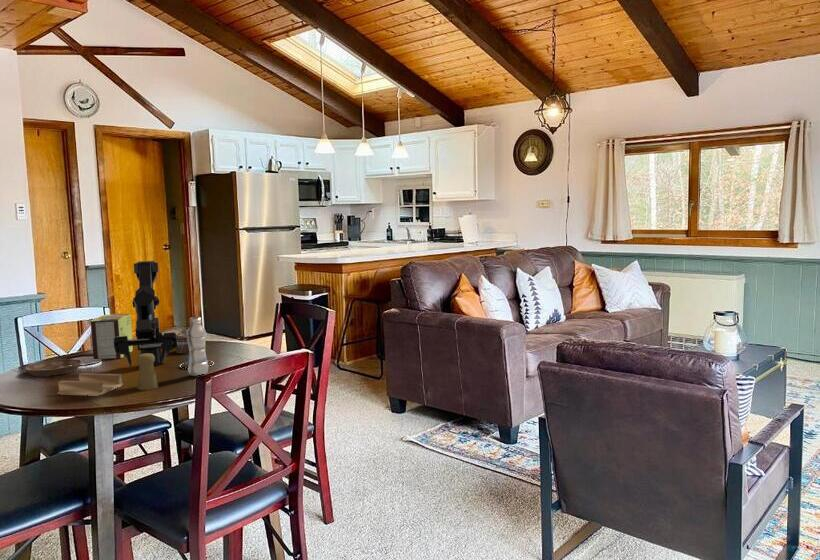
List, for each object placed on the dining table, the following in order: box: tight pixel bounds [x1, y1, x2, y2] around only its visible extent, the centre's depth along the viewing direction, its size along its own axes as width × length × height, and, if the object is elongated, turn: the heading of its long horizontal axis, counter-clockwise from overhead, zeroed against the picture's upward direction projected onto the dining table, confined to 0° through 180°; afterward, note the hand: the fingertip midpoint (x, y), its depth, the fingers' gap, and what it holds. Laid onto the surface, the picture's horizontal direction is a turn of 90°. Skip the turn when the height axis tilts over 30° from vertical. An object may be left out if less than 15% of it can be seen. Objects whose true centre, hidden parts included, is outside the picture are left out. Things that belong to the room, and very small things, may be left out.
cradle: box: [57, 372, 124, 397], centre depth 194 cm, size 12×14×4 cm
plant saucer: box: [24, 358, 83, 377], centre depth 219 cm, size 18×18×3 cm
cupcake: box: [175, 326, 190, 354], centre depth 248 cm, size 10×10×10 cm
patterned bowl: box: [179, 353, 215, 370], centre depth 224 cm, size 12×12×5 cm
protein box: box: [90, 313, 134, 360], centre depth 244 cm, size 10×15×16 cm
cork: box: [136, 353, 159, 391], centre depth 195 cm, size 6×6×11 cm
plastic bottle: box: [186, 316, 209, 377], centre depth 208 cm, size 6×7×20 cm
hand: (146, 364), depth 194 cm, fingers open, 9 cm apart
